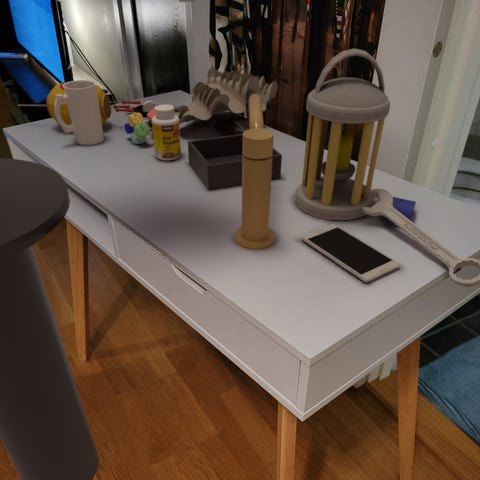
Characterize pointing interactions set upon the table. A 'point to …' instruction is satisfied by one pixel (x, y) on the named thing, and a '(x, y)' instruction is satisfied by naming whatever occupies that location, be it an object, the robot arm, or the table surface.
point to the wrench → (420, 236)
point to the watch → (145, 108)
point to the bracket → (402, 208)
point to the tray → (223, 161)
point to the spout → (257, 132)
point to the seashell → (226, 94)
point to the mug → (81, 111)
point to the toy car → (232, 125)
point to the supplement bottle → (166, 133)
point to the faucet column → (255, 204)
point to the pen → (176, 108)
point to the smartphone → (350, 252)
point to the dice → (137, 128)
